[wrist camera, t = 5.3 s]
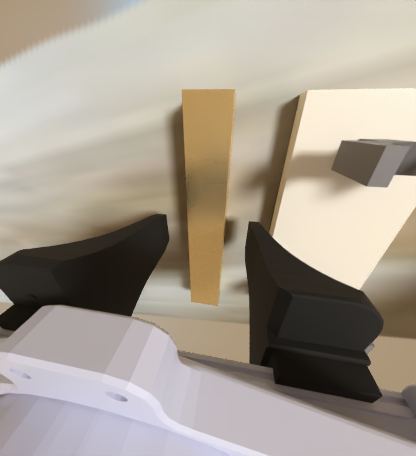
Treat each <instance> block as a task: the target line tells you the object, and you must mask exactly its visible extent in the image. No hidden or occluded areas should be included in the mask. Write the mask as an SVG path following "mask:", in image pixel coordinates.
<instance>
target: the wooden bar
mask: <svg viewBox="0 0 416 456" xmlns="http://www.w3.org/2000/svg"><path fill="white" fill-rule="evenodd" d="M235 103H236V93H235V89H213V90H182V107H183V129H184V151H185V173H186V196H187V218H188V240H189V262H190V285H191V302H197V303H203V304H209V305H215V306H218V300H219V293H220V284H221V272H222V260H223V248H224V236H225V224H226V212H227V200H228V187H229V175H230V163H231V151H232V139H233V127H234V115H235Z"/></svg>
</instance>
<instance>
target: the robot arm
mask: <svg viewBox="0 0 416 456" xmlns="http://www.w3.org/2000/svg"><path fill="white" fill-rule="evenodd" d="M168 242H169V233H168V225H167V217H166V215H164V214H156V215H153V216H150V217H148V218H146V219H143V220H141V221H139V222H137V223H134V224H132V225H130V226H127V227H125V228H122V229H120V230H117V231H114V232H111V233H108V234H105V235H102V236H98V237H94V238H90V239H86V240H82V241H78V242H73V243H68V244H62V245H56V246H49V247H41V248H33V249H23V250H20V251H17V252H16V253H14V254H12V255H10V256H8V257H7V258H5V259H3V260H1V261H0V289H1V290H2V291H3V292H4V293H5V294H6V295H7V297H8V298H9V299H10V300H11V301H12V302H13V303H14V305H13V306H11V307H10V308H9V309H7V310H6V311H5V312H4V313H2V314H1V315H0V456H416V384H412V385H409V386H407V387H406V388H405V389H404V390H403V391H402V393H401V392H395V391H390V390H385V389H379V388H378V386H377V384H376V382H375V380H374V378H373V376H372V375H371V373H370V371H369V369H368V367H367V366H369V365H370V364H371V361H370V359H369V357H368V356H367V354H366V352H365V349H366V348H367V347H368V346H369V345H370V344H371V343H372V342H373V341H374V340H375V339H376V338H377V337H378V335H379V334H380V332H381V331H382V329H383V319H382V317H381V315H380V313H379V312H378V311H377V309H376V308H375V307H374V305H373V304H372V303H371V301H370V300H369V299H368V297H367V296H366V295H365V294H364V292H363V291H360V290H358V289H356V288H353V287H351V286H349V285H347V284H344V283H342V282H340V281H337V280H335V279H333V278H331V277H329V276H327V275H325V274H323V273H321V272H320V271H318V270H316V269H314V268H312V267H311V266H309V265H307V264H306V263H304V262H303V261H301V260H300V259H298V258H297V257H295V256H294V255H292V254H291V253H290V252H288V251H287V250H286V249H285V248H283V247H282V246H281V245H280V244H279V243H278V242H277V241H276V240H275V239H274V238H273V237H272V236H271V235H270V234H269V233H268V232H267V231H266V230H265V229H264V227H263V226H262V225H261V224H260V223H259V222H250V221H249V225H248V232H247V239H246V246H245V263H246V272H247V280H248V288H249V309H250V364H248V363H242V362H237V361H232V360H227V359H221V358H216V357H211V356H206V355H200V354H195V353H190V352H184V351H179V350H177V348H176V345H175V343H174V342H173V340H172V338H171V337H170V335H169V333H168V332H166V331H165V330H163V329H162V328H160V327H159V326H157V325H156V324H155V323H152V322H149V321H145V320H142V319H139V318H135V317H131V316H132V313H133V310H134V308H135V306H136V303H137V301H138V299H139V297H140V294H141V292H142V290H143V288H144V286H145V284H146V282H147V280H148V278H149V276H150V274H151V273H152V271H153V270H154V268H155V266H156V265H157V263H158V261H159V260H160V258H161V256H162V255H163V253H164V251H165V249H166V247H167V244H168Z"/></svg>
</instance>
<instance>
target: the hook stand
mask: <svg viewBox="0 0 416 456" xmlns="http://www.w3.org/2000/svg"><path fill="white" fill-rule="evenodd" d="M415 207H416V88H397V89H339V90H307V91H305V92H304V93H302V94H300V97H299V102H298V106H297V111H296V115H295V120H294V124H293V128H292V133H291V137H290V142H289V146H288V151H287V155H286V160H285V164H284V169H283V173H282V178H281V182H280V186H279V191H278V195H277V200H276V204H275V209H274V213H273V218H272V222H271V227H270V231H269V234H270V235H271V236H272V237H273V238H274V239H275V240H276V241H277V242H278V243H279V244H280V245H281V246H282V247H283V248H285V249H286V250H287V251H288V252H290V253H291V254H292V255H294V256H295V257H297V258H298V259H300V260H301V261H303V262H304V263H306V264H307V265H309V266H311V267H312V268H314V269H316V270H318V271H320V272H321V273H323V274H325V275H327V276H329V277H331V278H333V279H335V280H337V281H340V282H342V283H344V284H347V285H349V286H351V287H353V288H356V289H358V290H360V288H361V287H362V285H363V284H364V282H365V281H366V279H367V278H368V276H369V275H370V273H371V272H372V270H373V269H374V267H375V266H376V264H377V263H378V261H379V260H380V259H381V257H382V256H383V254H384V253H385V251H386V250H387V248H388V247H389V245H390V244H391V242H392V241H393V239H394V238H395V236H396V235H397V233H398V232H399V230H400V229H401V227H402V226H403V224H404V223H405V221H406V220H407V219H408V217H409V216H410V214H411V213H412V211H413V210H414V208H415ZM373 348H374V344H373V343H371V344H370V345H369V346H368V347H367V348H366V349H365V352H366V354H368V353H369V352H370V351H371V350H372V349H373Z"/></svg>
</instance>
